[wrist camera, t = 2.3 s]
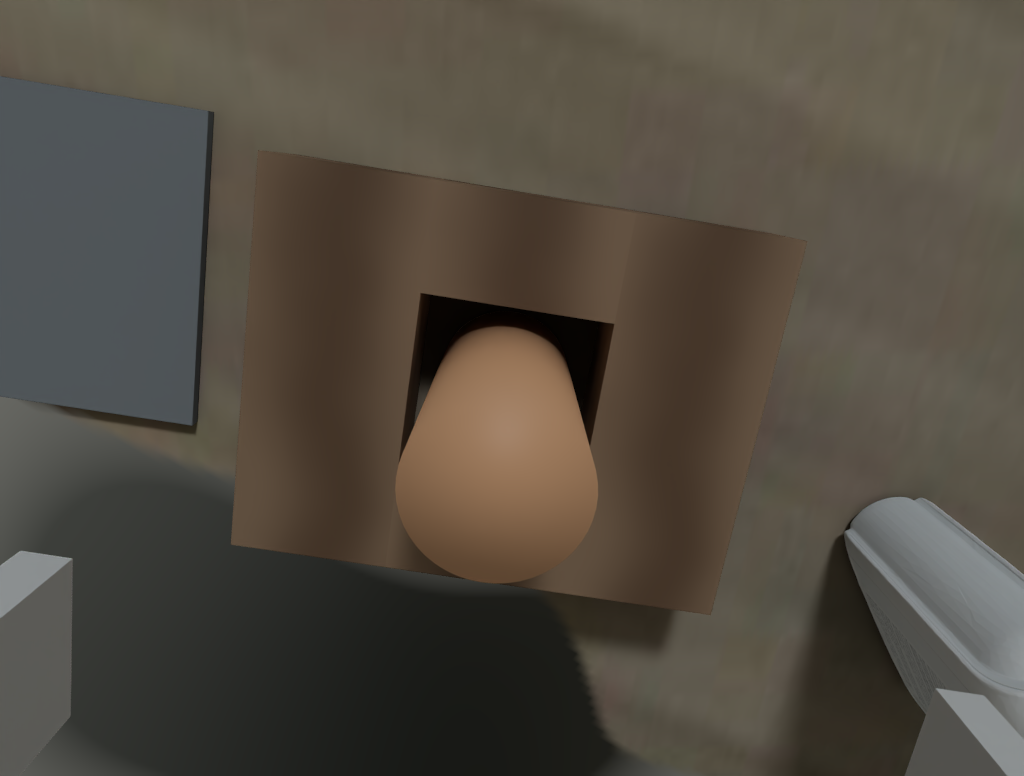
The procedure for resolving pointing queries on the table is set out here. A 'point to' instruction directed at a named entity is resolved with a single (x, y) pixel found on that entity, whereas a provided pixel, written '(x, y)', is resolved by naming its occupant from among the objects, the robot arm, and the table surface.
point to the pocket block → (518, 284)
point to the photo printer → (941, 603)
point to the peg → (498, 456)
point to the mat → (102, 250)
